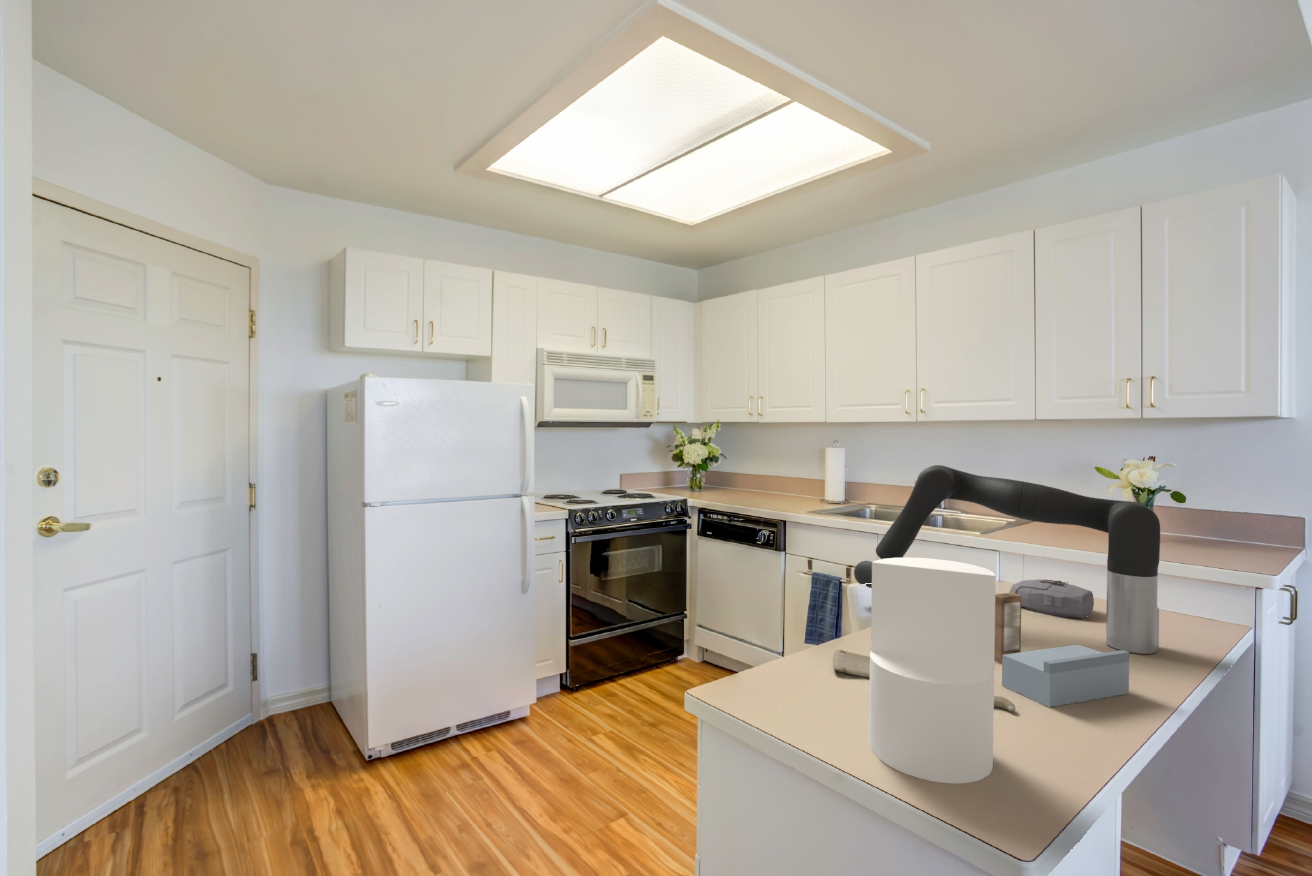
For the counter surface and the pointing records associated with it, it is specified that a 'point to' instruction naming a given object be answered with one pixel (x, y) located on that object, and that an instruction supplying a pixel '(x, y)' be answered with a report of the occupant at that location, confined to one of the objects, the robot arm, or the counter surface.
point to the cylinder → (932, 668)
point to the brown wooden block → (1007, 625)
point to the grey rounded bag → (1054, 598)
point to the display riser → (1066, 674)
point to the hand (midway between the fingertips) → (964, 607)
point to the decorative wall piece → (861, 667)
